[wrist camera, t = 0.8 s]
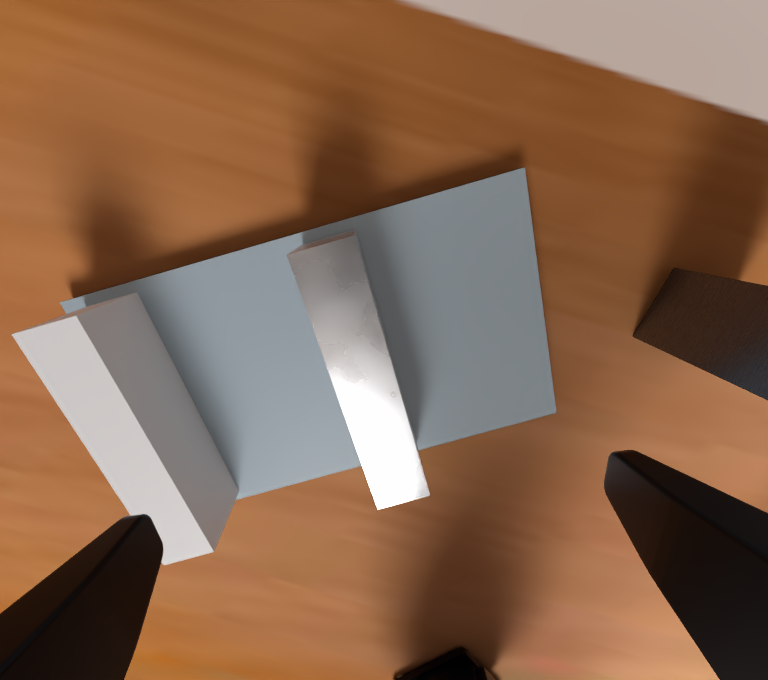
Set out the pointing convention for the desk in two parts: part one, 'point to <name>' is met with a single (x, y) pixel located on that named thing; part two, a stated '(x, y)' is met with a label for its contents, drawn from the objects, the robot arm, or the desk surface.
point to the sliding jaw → (360, 364)
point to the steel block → (712, 326)
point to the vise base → (297, 357)
